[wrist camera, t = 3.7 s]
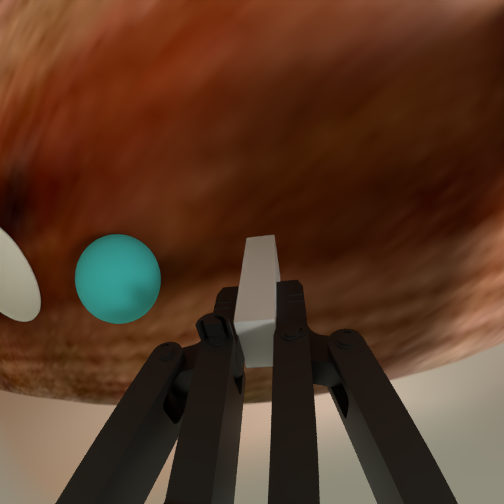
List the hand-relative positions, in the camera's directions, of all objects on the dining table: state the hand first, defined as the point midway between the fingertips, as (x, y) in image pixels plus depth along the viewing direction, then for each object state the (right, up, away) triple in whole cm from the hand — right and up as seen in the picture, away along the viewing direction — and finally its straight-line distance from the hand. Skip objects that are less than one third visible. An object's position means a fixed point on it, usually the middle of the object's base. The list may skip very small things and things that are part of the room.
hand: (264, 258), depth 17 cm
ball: (-9, -1, +1) cm, 9 cm away
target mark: (-25, -2, +5) cm, 26 cm away
